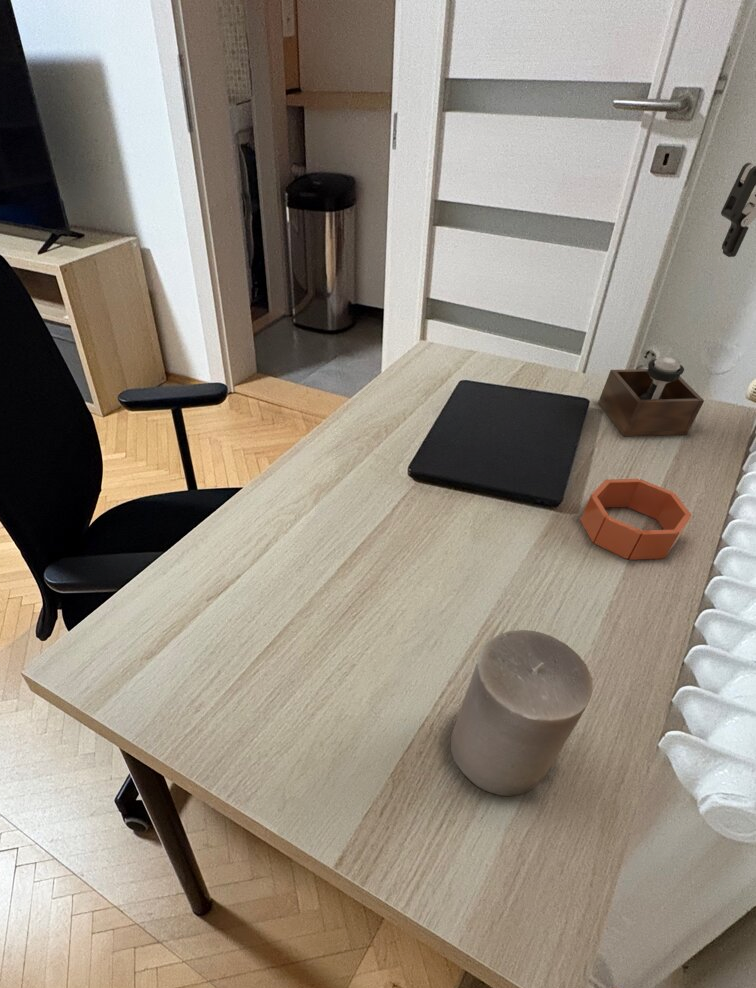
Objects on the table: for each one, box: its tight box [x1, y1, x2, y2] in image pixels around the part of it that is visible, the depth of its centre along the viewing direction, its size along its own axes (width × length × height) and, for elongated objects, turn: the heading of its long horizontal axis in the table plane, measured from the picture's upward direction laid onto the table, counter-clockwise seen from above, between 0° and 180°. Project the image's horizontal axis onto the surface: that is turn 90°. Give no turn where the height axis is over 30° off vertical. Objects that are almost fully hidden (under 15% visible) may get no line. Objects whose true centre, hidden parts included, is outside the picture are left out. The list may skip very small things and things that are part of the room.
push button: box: [640, 355, 685, 400], centre depth 103 cm, size 7×5×10 cm
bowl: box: [580, 478, 693, 561], centre depth 85 cm, size 12×12×4 cm
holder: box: [597, 368, 705, 437], centre depth 105 cm, size 11×11×6 cm
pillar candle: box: [450, 629, 594, 797], centre depth 57 cm, size 10×10×15 cm
